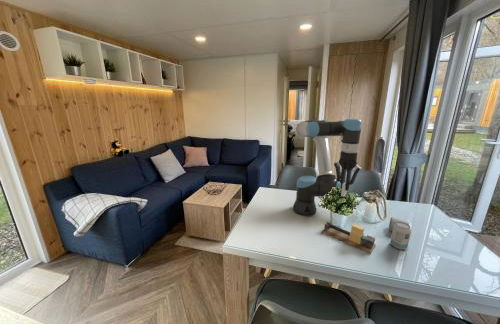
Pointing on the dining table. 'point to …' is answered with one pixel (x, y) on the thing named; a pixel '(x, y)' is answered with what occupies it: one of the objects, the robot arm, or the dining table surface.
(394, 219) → the ceramic mug
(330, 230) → the brown long block assembly
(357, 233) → the sleeve
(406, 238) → the beverage can
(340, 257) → the dining table surface
